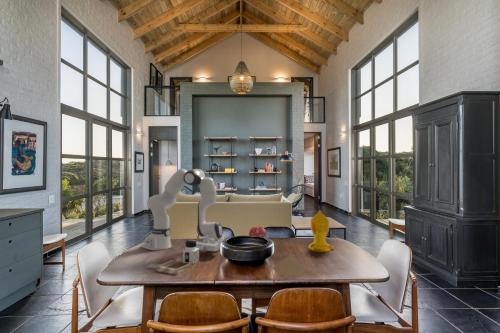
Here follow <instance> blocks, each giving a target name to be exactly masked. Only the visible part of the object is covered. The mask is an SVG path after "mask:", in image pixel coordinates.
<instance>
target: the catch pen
mask: <svg viewBox="0 0 500 333" xmlns="http://www.w3.org/2000/svg"><path fill="white" fill-rule="evenodd" d="M160 264H161V263H160ZM174 264H175V263H174V259H171V260H169V261H167V262H164V263H162V264H161V265H159V266H157V269H156V271H157V272H161V273H166V274H170V275H179V274H181V273H183V272H185V271H188V270H189V269H191V268H192V264H191V263H186V264H185V265H182V266H180V267H179V268H172V267H171V266H173V265H174Z"/></svg>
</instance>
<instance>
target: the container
mask: <svg viewBox="0 0 500 333" xmlns="http://www.w3.org/2000/svg"><path fill="white" fill-rule="evenodd" d="M196 241H197V240H194V239H189V240H186V241H185V249H183V250H182V263H183V264H189V263H191V265H192V264H193V265H194V264H196V263H197V262H199V260H200V250H199V248H196Z"/></svg>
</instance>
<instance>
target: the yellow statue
mask: <svg viewBox="0 0 500 333" xmlns="http://www.w3.org/2000/svg"><path fill="white" fill-rule="evenodd" d="M310 230H311V232H312V234H313V238H314V240H313V242H311V243H310V244H309V245H308V250H310V251H312V252H318V253H327V252H330V251H332V250H334V245H332V246H331V245H330V244H329V243H327V242H326V237H327V235H328V233H329V231H330V219H329V218H328V217H327V216H325V214H324V213H323V212H322V210H320V209H319V210H318V211H317V213H316V214H314V216H312V217H311V219H310Z"/></svg>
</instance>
